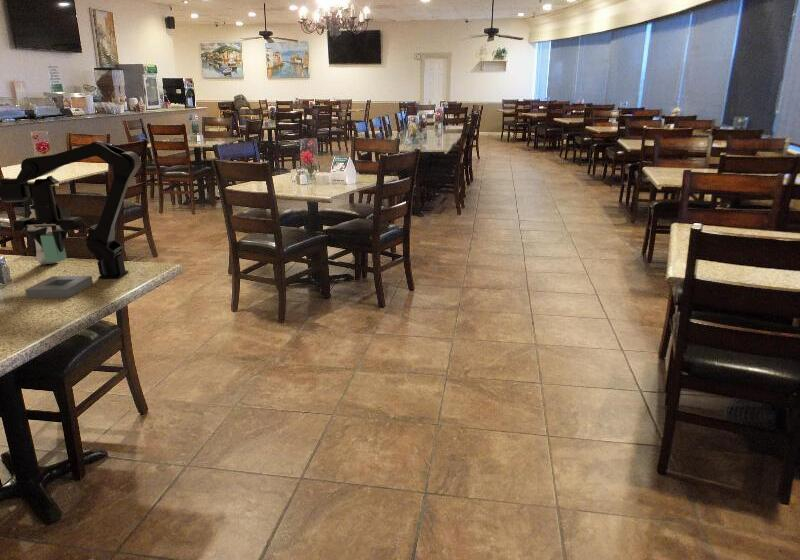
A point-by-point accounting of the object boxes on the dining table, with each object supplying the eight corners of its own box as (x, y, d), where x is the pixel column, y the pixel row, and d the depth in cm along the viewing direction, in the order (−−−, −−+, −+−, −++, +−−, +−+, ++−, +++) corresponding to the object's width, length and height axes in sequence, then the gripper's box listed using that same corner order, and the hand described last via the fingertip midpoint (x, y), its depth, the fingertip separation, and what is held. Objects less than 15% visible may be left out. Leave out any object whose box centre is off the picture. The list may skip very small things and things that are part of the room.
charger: (66, 258, 177) (60, 230, 174) (58, 261, 173) (52, 233, 170) (54, 258, 177) (48, 230, 174) (45, 261, 173) (39, 233, 170)
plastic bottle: (65, 261, 197) (52, 202, 191) (51, 266, 190) (38, 206, 184) (47, 261, 197) (34, 203, 191) (33, 266, 191) (19, 207, 185)
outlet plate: (93, 283, 171) (91, 275, 170) (68, 297, 160) (66, 289, 159) (54, 284, 172) (52, 276, 171) (27, 298, 161) (25, 289, 160)
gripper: (89, 195, 176) (99, 244, 181) (31, 196, 178) (42, 245, 182) (67, 201, 166) (78, 254, 171) (5, 202, 167) (18, 254, 172)
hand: (54, 251), depth 174 cm, fingers closed on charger, 4 cm apart
